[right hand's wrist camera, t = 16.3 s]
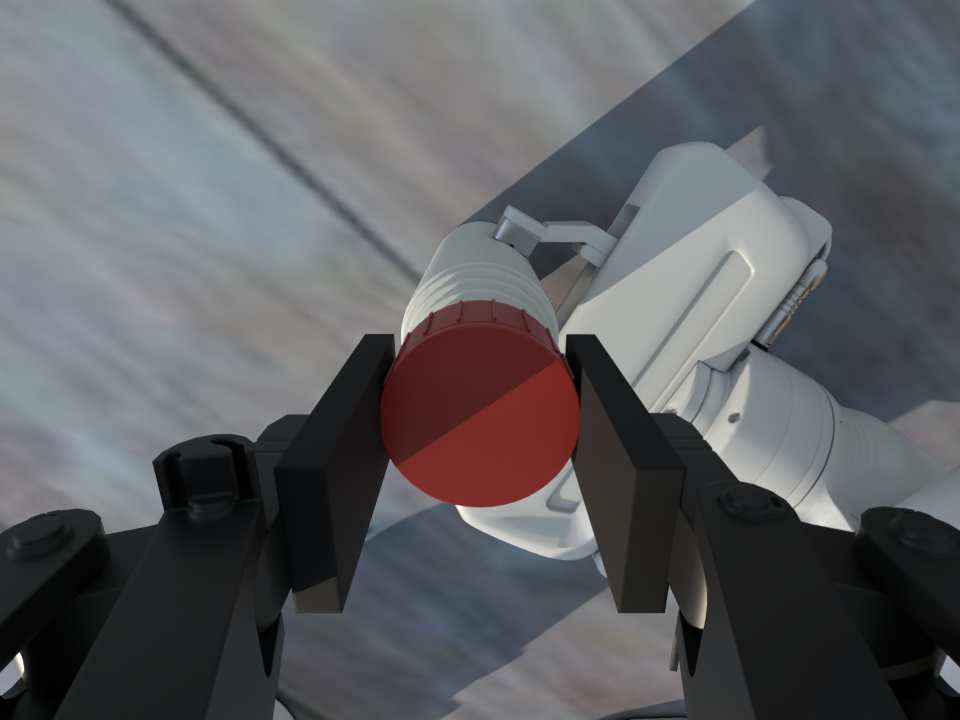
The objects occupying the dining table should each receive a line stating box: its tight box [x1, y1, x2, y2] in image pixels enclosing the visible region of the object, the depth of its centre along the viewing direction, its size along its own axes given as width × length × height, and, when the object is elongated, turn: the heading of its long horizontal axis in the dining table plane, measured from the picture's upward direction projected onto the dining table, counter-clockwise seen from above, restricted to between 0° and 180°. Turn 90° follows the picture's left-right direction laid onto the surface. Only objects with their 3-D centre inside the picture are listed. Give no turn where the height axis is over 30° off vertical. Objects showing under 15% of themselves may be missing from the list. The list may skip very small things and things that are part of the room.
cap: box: [380, 299, 580, 508], centre depth 13 cm, size 5×5×2 cm
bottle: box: [401, 221, 559, 345], centre depth 21 cm, size 5×5×19 cm
